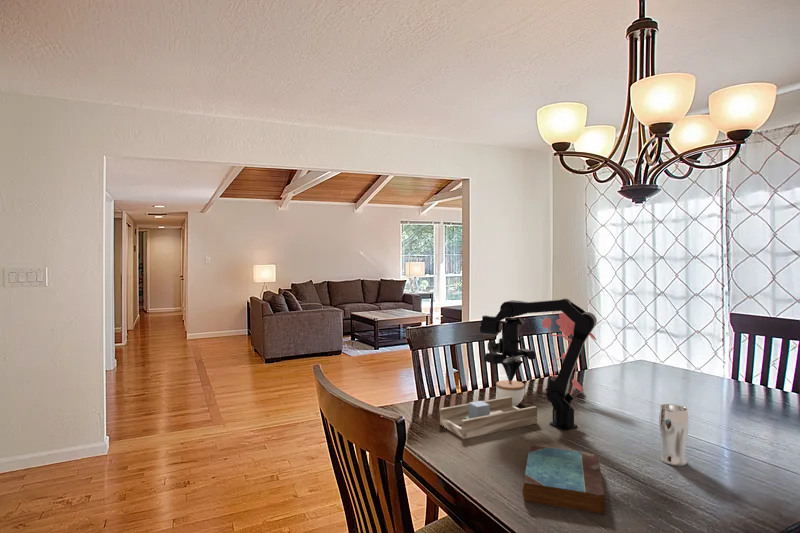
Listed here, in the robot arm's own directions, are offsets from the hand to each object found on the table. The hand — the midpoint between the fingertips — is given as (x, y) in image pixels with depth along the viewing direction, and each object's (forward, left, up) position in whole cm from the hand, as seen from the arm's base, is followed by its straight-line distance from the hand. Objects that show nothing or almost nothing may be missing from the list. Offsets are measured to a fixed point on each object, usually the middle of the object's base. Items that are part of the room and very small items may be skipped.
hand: (510, 380), depth 165 cm
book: (-45, +21, -14) cm, 51 cm away
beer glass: (-49, -16, -13) cm, 53 cm away
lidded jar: (+12, -10, -13) cm, 20 cm away
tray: (-2, +11, -13) cm, 17 cm away
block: (-2, +15, -10) cm, 18 cm away
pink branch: (+15, -45, -13) cm, 49 cm away
